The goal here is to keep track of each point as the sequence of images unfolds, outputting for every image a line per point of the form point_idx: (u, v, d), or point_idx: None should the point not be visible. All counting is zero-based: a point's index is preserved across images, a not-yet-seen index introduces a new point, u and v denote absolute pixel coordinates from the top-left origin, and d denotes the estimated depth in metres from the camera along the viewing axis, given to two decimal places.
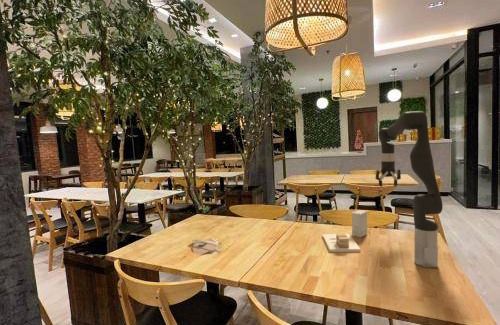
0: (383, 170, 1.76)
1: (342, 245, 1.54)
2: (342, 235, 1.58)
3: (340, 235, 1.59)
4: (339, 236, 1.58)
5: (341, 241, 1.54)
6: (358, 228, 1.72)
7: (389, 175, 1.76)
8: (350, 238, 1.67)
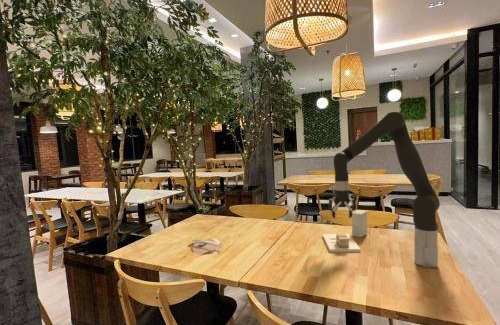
0: (336, 200, 1.55)
1: (342, 245, 1.54)
2: (342, 235, 1.58)
3: (340, 235, 1.59)
4: (339, 236, 1.58)
5: (341, 241, 1.54)
6: (358, 228, 1.72)
7: (343, 205, 1.55)
8: (350, 238, 1.67)
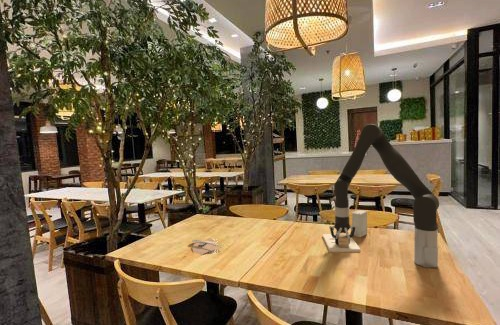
0: (336, 226, 1.56)
1: (342, 245, 1.54)
2: (342, 235, 1.58)
3: (340, 235, 1.59)
4: (339, 236, 1.58)
5: (341, 241, 1.54)
6: (358, 228, 1.72)
7: (342, 231, 1.56)
8: (350, 238, 1.67)
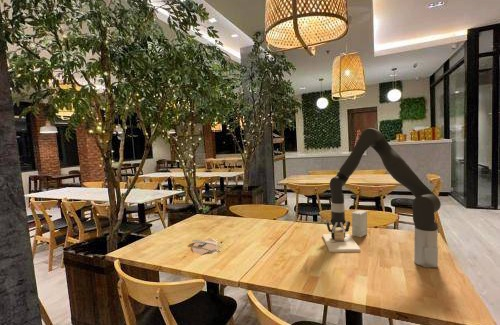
0: (332, 220, 1.66)
1: (338, 239, 1.64)
2: (338, 230, 1.68)
3: (336, 229, 1.68)
4: (335, 230, 1.67)
5: (337, 235, 1.63)
6: (358, 228, 1.72)
7: (338, 225, 1.66)
8: (350, 238, 1.67)
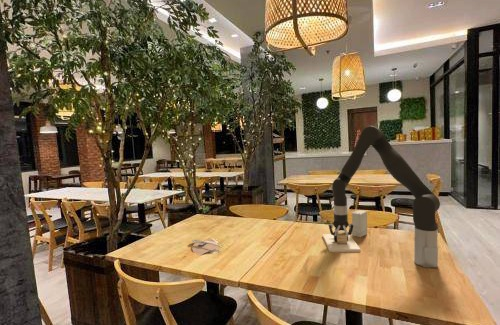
0: (335, 223, 1.61)
1: (340, 242, 1.59)
2: (341, 232, 1.63)
3: (339, 232, 1.64)
4: (338, 233, 1.62)
5: (339, 238, 1.59)
6: (358, 228, 1.72)
7: (341, 228, 1.61)
8: (350, 238, 1.67)
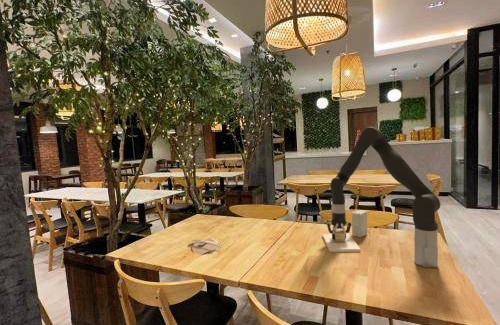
0: (333, 222, 1.64)
1: (338, 240, 1.62)
2: (339, 230, 1.66)
3: (337, 230, 1.66)
4: (336, 231, 1.65)
5: (337, 236, 1.61)
6: (358, 228, 1.72)
7: (339, 226, 1.64)
8: (350, 238, 1.67)
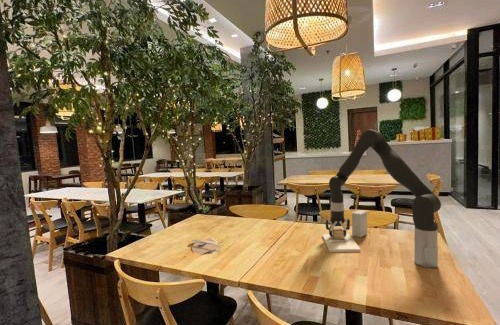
0: (332, 219, 1.68)
1: (337, 237, 1.66)
2: (337, 228, 1.70)
3: (335, 228, 1.71)
4: (334, 229, 1.70)
5: (336, 233, 1.66)
6: (358, 228, 1.72)
7: (338, 224, 1.68)
8: (350, 238, 1.67)
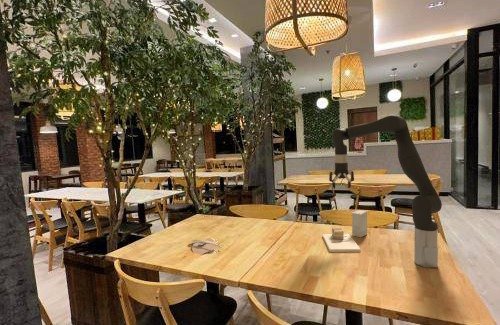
0: (336, 172, 1.71)
1: (337, 237, 1.66)
2: (337, 228, 1.70)
3: (335, 228, 1.71)
4: (334, 229, 1.70)
5: (336, 233, 1.66)
6: (358, 228, 1.72)
7: (342, 177, 1.71)
8: (350, 238, 1.67)
